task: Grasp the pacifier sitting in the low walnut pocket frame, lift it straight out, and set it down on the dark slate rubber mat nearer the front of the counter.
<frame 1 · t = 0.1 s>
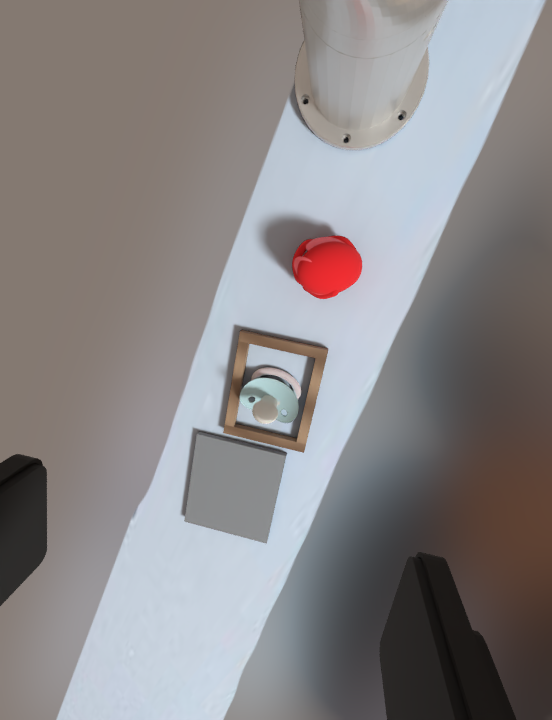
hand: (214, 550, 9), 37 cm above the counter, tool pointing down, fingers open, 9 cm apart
pacifier: (274, 389, 48), resting in pocket frame
cap: (328, 266, 43), on the counter
pocket frame: (274, 391, 47), on the counter
slate mat: (234, 486, 52), on the counter
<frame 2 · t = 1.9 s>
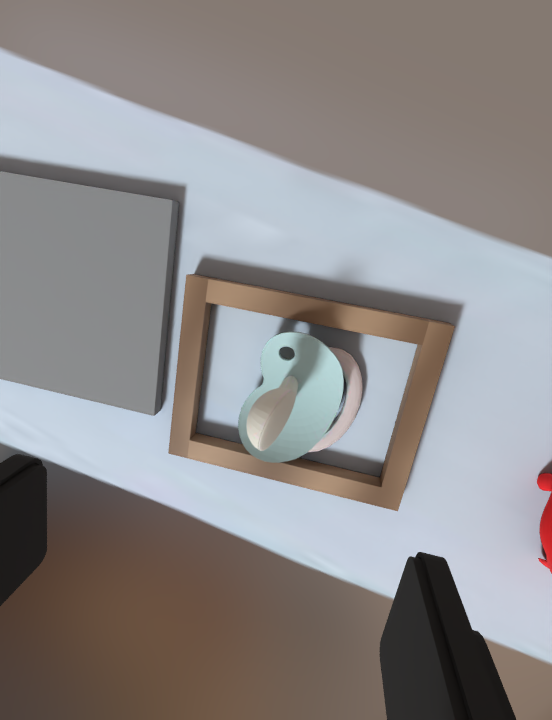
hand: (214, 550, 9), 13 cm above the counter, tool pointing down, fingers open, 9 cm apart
pacifier: (306, 392, 22), resting in pocket frame
pocket frame: (297, 390, 21), on the counter
slate mat: (57, 291, 22), on the counter
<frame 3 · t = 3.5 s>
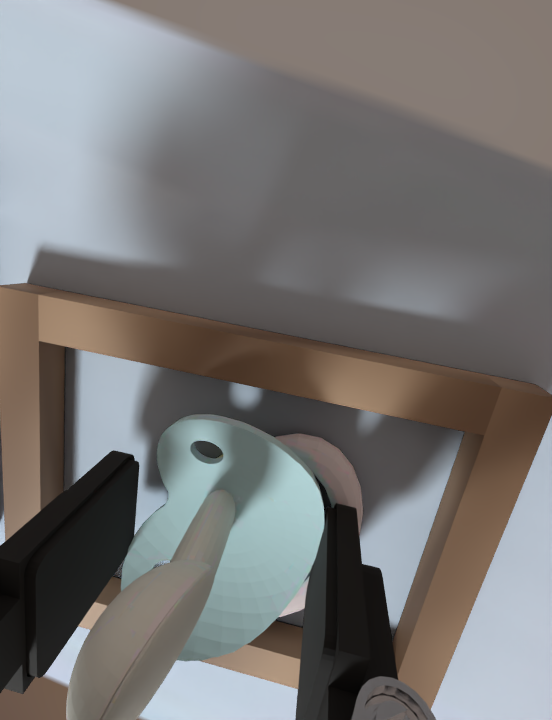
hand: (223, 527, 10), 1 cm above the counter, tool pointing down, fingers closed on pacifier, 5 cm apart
pacifier: (256, 505, 12), resting in pocket frame, touching gripper
pocket frame: (236, 501, 11), on the counter
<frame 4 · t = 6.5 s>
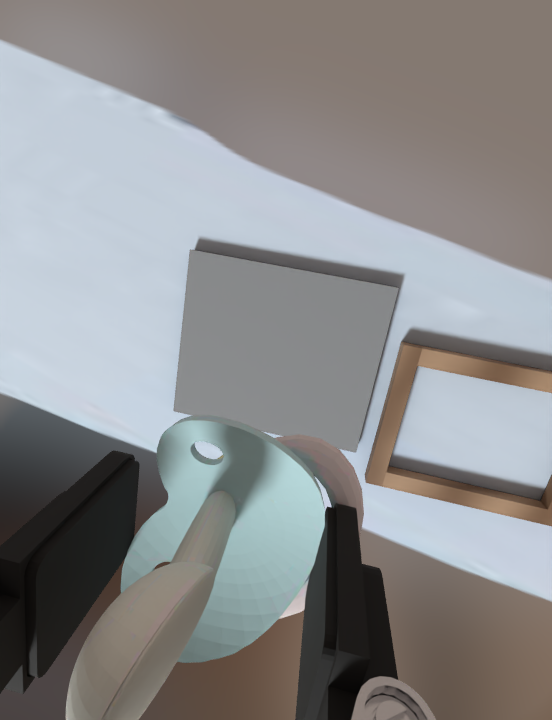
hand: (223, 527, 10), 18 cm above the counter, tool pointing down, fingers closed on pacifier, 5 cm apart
pacifier: (257, 506, 12), point 17 cm above the counter, touching gripper
pocket frame: (478, 432, 27), on the counter
slate mat: (277, 352, 27), on the counter
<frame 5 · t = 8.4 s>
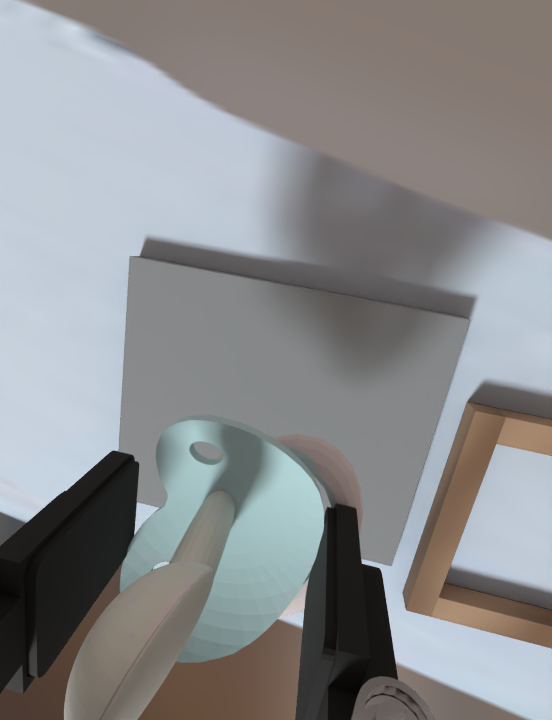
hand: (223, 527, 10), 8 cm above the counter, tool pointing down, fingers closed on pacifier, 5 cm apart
pacifier: (256, 506, 12), point 6 cm above the counter, touching gripper
slate mat: (271, 413, 18), on the counter
when the fingers open (3 cm above the counter, at t = 9.7 s): pacifier drops 1 cm, resting on slate mat.
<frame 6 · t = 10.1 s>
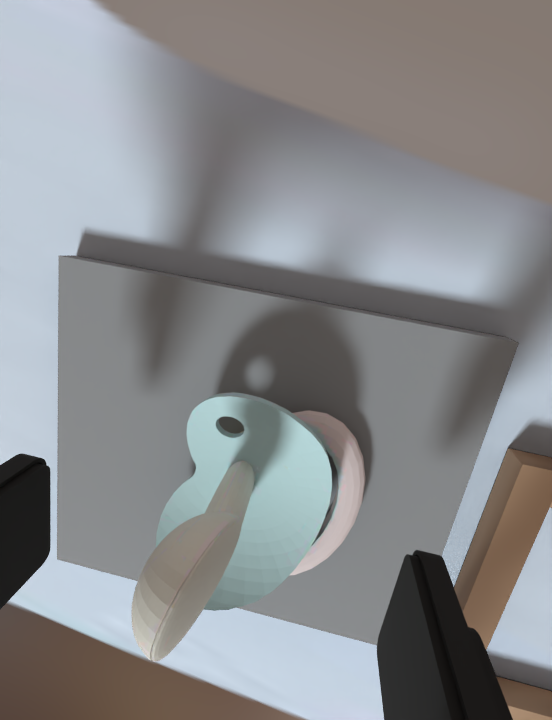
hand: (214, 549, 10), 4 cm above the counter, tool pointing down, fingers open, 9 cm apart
pacifier: (271, 477, 13), point 1 cm above the counter, touching slate mat
slate mat: (251, 458, 14), on the counter
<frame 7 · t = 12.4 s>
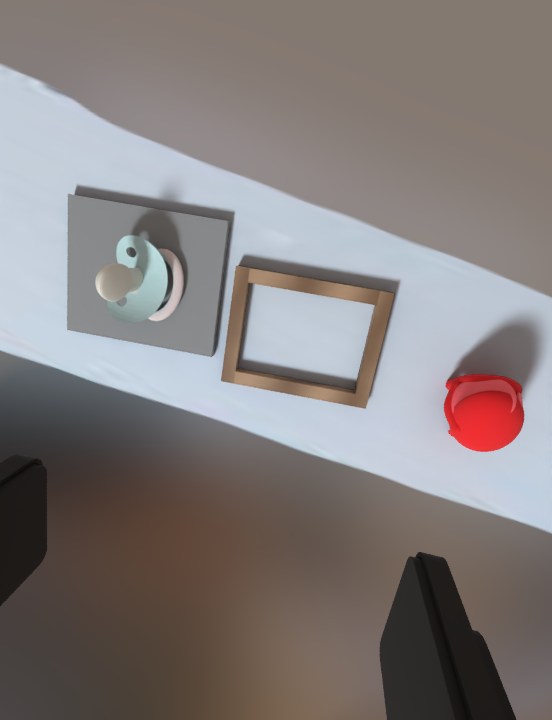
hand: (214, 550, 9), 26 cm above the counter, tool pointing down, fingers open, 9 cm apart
pacifier: (153, 282, 34), point 1 cm above the counter, touching slate mat
cap: (468, 400, 35), on the counter
pocket frame: (303, 337, 35), on the counter
slate mat: (146, 278, 35), on the counter
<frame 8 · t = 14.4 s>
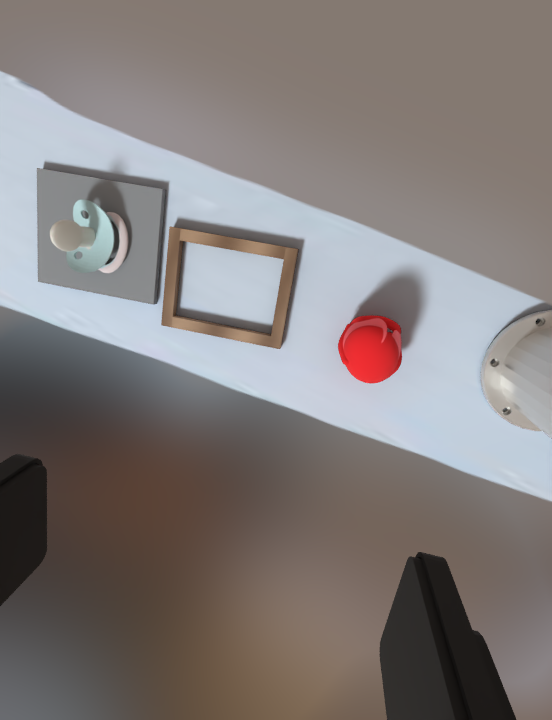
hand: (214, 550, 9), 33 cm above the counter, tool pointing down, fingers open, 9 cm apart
pacifier: (105, 241, 41), point 1 cm above the counter, touching slate mat
cap: (368, 344, 41), on the counter
pocket frame: (228, 288, 41), on the counter
slate mat: (101, 238, 42), on the counter
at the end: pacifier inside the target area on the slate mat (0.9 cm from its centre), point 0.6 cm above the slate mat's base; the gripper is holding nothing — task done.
